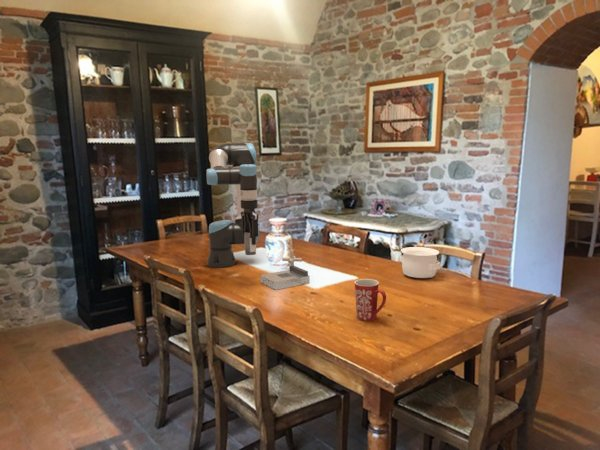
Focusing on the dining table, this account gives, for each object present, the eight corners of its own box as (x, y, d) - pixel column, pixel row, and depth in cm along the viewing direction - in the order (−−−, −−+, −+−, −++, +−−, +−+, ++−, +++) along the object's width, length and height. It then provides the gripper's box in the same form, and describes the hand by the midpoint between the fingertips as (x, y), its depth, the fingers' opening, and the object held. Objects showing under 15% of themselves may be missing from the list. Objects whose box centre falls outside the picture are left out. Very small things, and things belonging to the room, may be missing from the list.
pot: (449, 277, 223) (450, 252, 221) (429, 284, 212) (430, 258, 209) (410, 268, 239) (411, 244, 237) (389, 274, 228) (390, 250, 226)
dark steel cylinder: (243, 253, 214) (242, 232, 212) (253, 252, 216) (252, 230, 214) (248, 255, 210) (247, 233, 208) (257, 254, 212) (257, 232, 210)
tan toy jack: (299, 272, 234) (299, 252, 232) (280, 271, 236) (280, 252, 234) (303, 267, 243) (303, 248, 242) (285, 266, 245) (284, 247, 244)
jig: (260, 282, 218) (260, 270, 217) (293, 276, 227) (293, 265, 226) (275, 290, 206) (275, 277, 205) (309, 283, 216) (309, 271, 215)
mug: (348, 317, 173) (349, 282, 171) (364, 311, 179) (364, 277, 177) (376, 326, 164) (376, 289, 162) (391, 319, 170) (392, 284, 168)
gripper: (233, 198, 214) (234, 247, 218) (249, 201, 199) (251, 255, 203) (248, 196, 218) (249, 245, 222) (265, 200, 203) (266, 253, 207)
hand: (250, 250), depth 213 cm, fingers closed on dark steel cylinder, 5 cm apart
